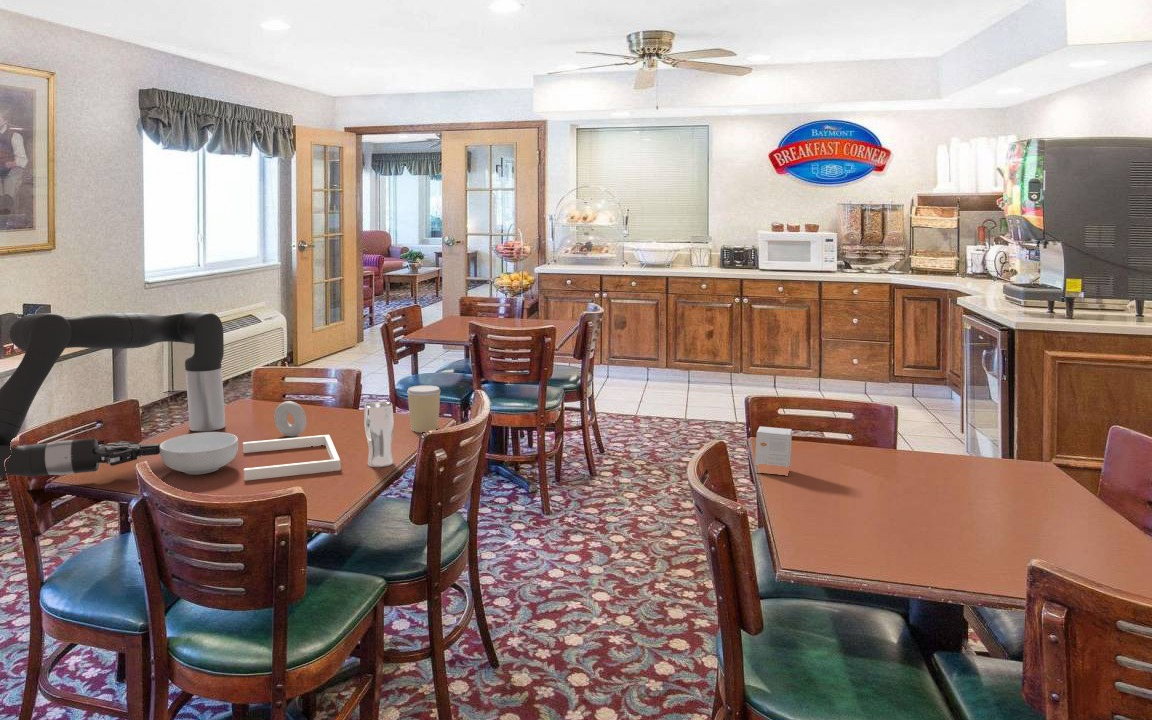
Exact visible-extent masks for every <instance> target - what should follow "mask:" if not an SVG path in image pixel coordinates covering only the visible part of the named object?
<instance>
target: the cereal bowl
mask: <svg viewBox="0 0 1152 720" xmlns="http://www.w3.org/2000/svg"><path fill="white" fill-rule="evenodd" d="M159 445H160V447H159V448H160V453H159V455H160V458H161V460H162V462H163V463H164V465H166V467H168V468H169V469H172V470H174V471H177V472H183V473H184V474H187V475H192V476H193V475H206V474H211V473H215V472H217V471H218V470H219V469H220V468H222V467H225V466H226V465H228V464H229V463H231V462H232V461H233V460H234V459H235V457H236V456H237V454H238V451H239V438H238V437H237V435H234V434H233V433H229V432H224V431H223V432H221V431H202V432H201V431H200V432H194V433H186V434H182V435H178V436H174V437H171V438H168V439H166V440H164V441H162V442H161V443H160V444H159Z"/></svg>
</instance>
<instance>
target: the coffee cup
mask: <svg viewBox="0 0 1152 720" xmlns="http://www.w3.org/2000/svg"><path fill="white" fill-rule="evenodd" d="M406 394H407V401H408V413H409V422H410V423H409V424H410V431H412V432H414V431H415V432H414V433H422V432H425V431H429V430H433V429H438V430H439V422H440V404H441V403H440V400H441V389H440V387H439V386H437V385H428V384H427V385H425V384H424V385H413V386H410V387H408V388H407V391H406ZM422 434H423V433H422Z"/></svg>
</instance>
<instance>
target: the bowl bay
mask: <svg viewBox="0 0 1152 720" xmlns="http://www.w3.org/2000/svg"><path fill="white" fill-rule="evenodd" d="M321 445H323V446H325V447H326V450H327V453H328V456H329V458H330V459H326V460H325V459H323V460H314V461H306V462H305V461H303V462H296V463H285V464H275V465H268V466H265V465H264V466H257V467H246V468H243V476H244V477H243V479H244V481H245V482H246V481H252V480H253V481H254V480H255V481H256V480H264V479H273V478H280V477H281V478H282V477H289V476H300V475H309V474H311V475H312V474H318V473H327V472H328V473H329V472H334V471H335V472H337V471H338V472H339V471H341V468H342V467H341V459H340V457H339V455H338V454H339V453H338V452H337V450H336V447H335V445H334V442H333V440H332V438H331V436H330V434H323V435H313V436H311V435H309V436H300V437H299V436H296V437H287V438H277V439H267V440H255V441H245V442H242V450H243V454H247V453H257V452H268V451H269V452H270V451H279V450H290V449H301V448H309V447H310V448H311V446H313V447H321Z"/></svg>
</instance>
